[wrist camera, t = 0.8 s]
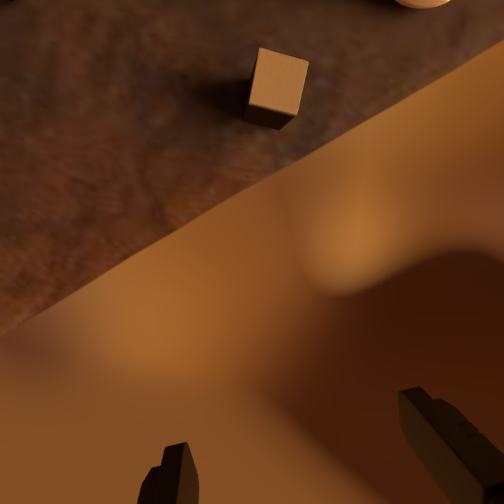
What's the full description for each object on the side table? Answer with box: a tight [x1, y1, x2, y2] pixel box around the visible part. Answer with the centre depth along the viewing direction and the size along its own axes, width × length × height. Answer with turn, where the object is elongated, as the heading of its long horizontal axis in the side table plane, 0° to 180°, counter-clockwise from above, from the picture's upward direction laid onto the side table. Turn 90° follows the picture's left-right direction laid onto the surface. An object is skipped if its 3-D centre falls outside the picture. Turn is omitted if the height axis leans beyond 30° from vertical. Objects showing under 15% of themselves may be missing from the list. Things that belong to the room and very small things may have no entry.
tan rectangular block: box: [243, 48, 309, 130], centre depth 30 cm, size 4×4×8 cm
